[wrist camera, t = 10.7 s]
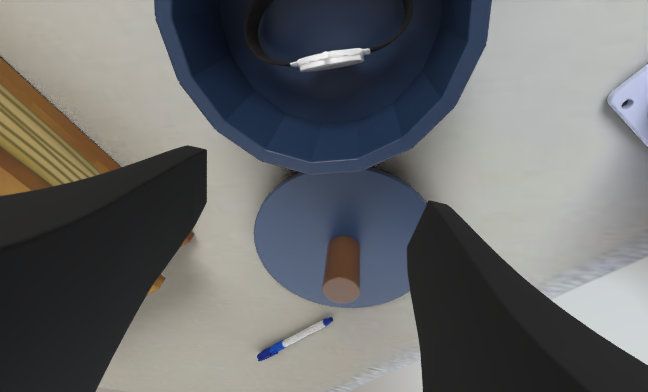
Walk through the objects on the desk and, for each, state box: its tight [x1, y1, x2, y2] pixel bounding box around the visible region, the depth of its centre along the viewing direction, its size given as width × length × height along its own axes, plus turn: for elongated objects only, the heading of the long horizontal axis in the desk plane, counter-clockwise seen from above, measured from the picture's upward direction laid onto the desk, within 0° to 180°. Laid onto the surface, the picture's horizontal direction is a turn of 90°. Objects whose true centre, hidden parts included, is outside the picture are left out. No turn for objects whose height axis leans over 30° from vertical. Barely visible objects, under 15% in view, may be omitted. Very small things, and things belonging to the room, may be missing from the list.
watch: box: [244, 0, 413, 72], centre depth 15 cm, size 8×5×4 cm, turn 101°
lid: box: [254, 167, 427, 308], centre depth 23 cm, size 13×13×5 cm
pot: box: [154, 0, 492, 175], centre depth 15 cm, size 12×12×6 cm
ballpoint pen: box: [257, 317, 333, 361], centre depth 32 cm, size 10×1×1 cm, turn 136°
